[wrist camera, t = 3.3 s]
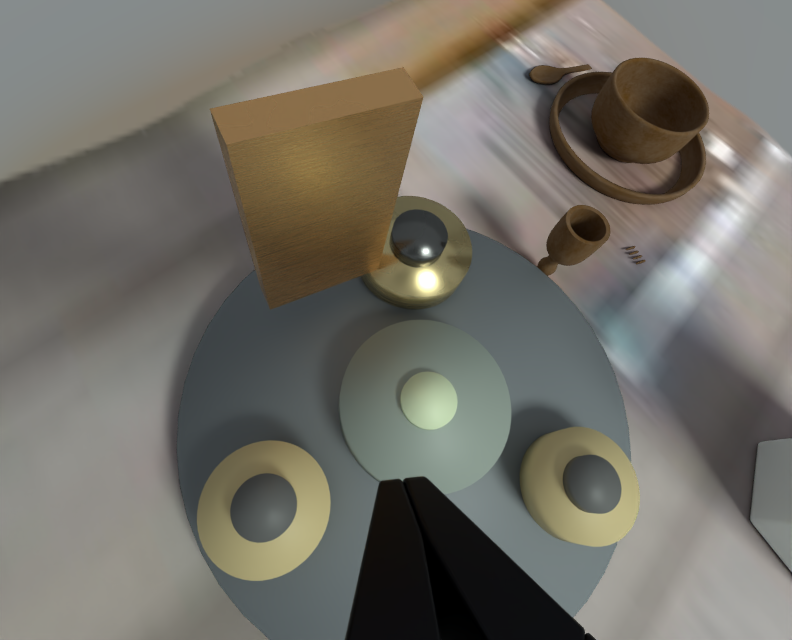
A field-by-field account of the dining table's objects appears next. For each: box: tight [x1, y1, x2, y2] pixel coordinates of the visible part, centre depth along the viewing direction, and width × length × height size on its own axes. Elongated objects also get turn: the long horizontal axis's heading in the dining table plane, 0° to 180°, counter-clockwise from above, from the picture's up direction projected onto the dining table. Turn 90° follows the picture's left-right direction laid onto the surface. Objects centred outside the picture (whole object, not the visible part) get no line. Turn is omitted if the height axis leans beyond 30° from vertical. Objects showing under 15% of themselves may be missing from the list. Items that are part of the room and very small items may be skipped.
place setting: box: [529, 58, 709, 276], centre depth 29 cm, size 18×20×6 cm
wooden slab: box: [210, 67, 472, 310], centre depth 17 cm, size 11×6×12 cm, turn 117°
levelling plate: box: [177, 229, 640, 640], centre depth 20 cm, size 22×22×3 cm
